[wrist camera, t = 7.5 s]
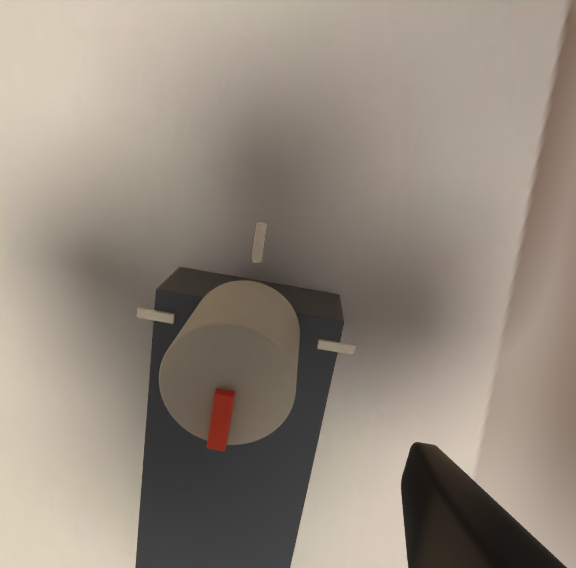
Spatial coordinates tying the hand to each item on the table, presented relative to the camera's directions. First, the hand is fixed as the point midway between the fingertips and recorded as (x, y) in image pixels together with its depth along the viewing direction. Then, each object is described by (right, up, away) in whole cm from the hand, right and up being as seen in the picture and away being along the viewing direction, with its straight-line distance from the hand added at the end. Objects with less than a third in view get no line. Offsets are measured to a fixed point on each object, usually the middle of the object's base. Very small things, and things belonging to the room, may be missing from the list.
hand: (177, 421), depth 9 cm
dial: (+1, +1, +8) cm, 8 cm away
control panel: (0, -4, +13) cm, 14 cm away
